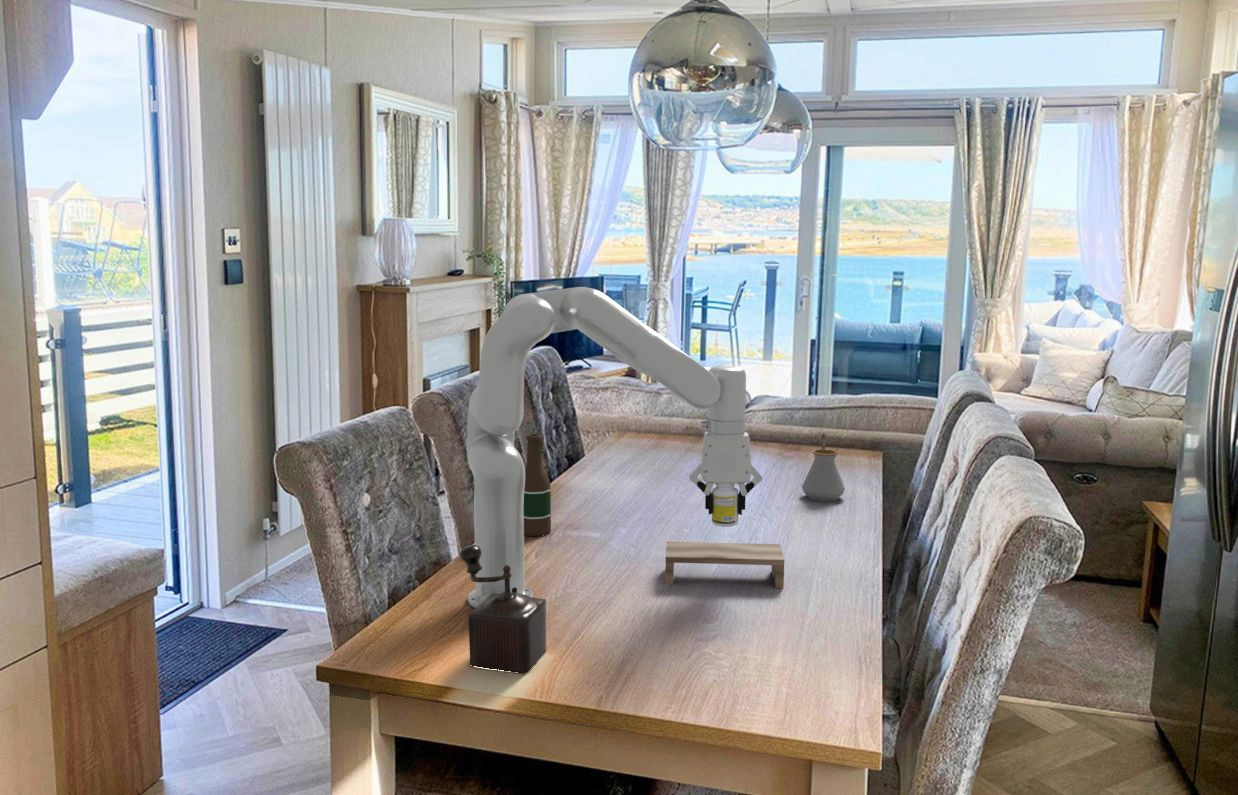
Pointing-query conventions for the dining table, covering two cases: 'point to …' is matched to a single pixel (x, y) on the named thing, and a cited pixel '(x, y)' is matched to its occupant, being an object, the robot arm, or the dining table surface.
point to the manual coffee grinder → (504, 623)
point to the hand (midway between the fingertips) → (725, 511)
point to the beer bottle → (536, 491)
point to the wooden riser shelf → (725, 556)
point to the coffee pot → (823, 476)
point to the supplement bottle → (725, 505)
